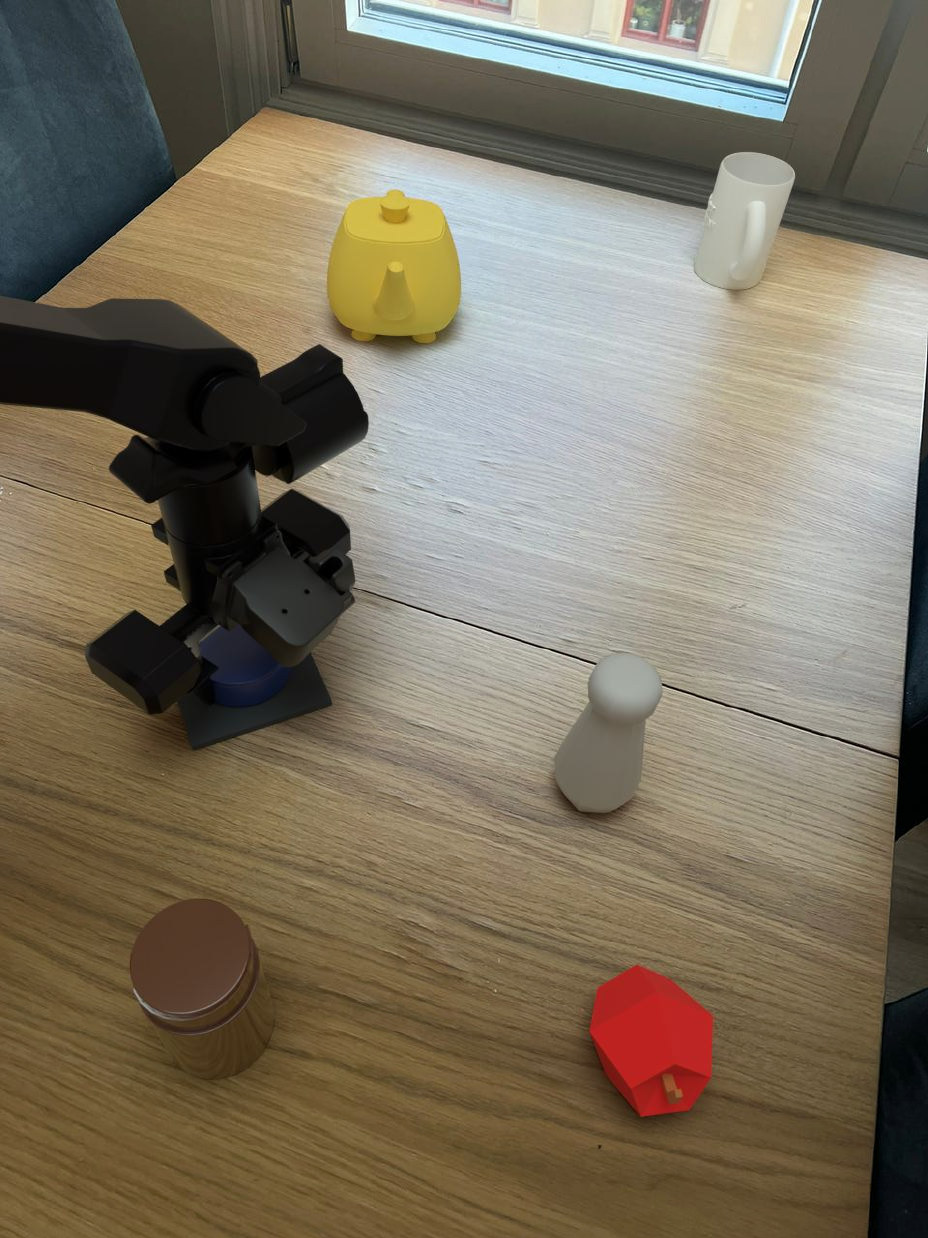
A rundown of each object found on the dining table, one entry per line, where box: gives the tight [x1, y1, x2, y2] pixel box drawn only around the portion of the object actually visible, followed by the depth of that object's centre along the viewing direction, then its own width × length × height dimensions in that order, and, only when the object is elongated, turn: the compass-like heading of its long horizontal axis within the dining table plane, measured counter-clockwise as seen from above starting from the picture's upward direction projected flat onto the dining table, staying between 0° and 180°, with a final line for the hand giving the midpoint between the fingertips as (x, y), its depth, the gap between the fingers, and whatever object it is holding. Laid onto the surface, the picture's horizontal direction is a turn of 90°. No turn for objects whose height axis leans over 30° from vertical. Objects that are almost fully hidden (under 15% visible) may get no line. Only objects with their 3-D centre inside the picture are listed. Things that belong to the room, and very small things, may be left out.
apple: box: [588, 964, 714, 1118], centre depth 50 cm, size 7×7×8 cm
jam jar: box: [129, 897, 275, 1080], centre depth 48 cm, size 6×6×10 cm
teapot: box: [326, 189, 462, 344], centre depth 93 cm, size 14×20×13 cm
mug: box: [693, 151, 796, 291], centre depth 103 cm, size 8×12×12 cm
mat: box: [176, 651, 333, 751], centre depth 68 cm, size 10×10×1 cm
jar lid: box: [200, 624, 291, 707], centre depth 66 cm, size 7×7×3 cm
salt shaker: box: [553, 652, 663, 814], centre depth 59 cm, size 6×6×13 cm
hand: (243, 669), depth 67 cm, fingers closed on jar lid, 7 cm apart
